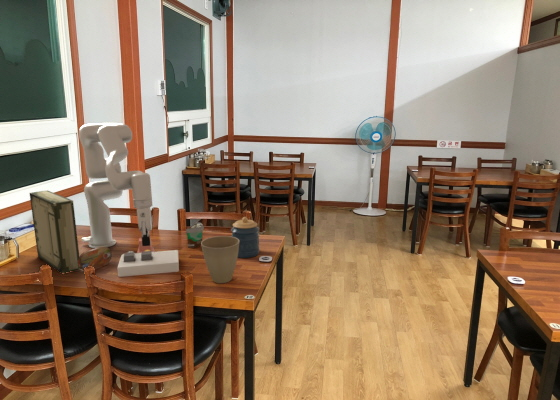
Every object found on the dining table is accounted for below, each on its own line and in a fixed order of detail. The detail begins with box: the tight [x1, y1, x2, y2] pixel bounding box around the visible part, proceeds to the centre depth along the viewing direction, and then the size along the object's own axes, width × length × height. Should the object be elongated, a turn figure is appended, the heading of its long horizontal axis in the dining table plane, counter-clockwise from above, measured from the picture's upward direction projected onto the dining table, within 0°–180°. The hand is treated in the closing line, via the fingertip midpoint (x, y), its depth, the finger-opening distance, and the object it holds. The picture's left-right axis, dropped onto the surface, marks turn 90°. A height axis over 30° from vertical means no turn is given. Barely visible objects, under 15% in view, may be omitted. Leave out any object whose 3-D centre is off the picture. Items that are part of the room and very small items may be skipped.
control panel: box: [29, 190, 82, 274], centre depth 190 cm, size 30×8×30 cm, turn 45°
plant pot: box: [200, 235, 239, 284], centre depth 173 cm, size 15×15×16 cm
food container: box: [185, 221, 205, 249], centre depth 216 cm, size 12×6×10 cm, turn 168°
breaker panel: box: [117, 249, 180, 278], centre depth 188 cm, size 24×16×6 cm, turn 103°
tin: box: [78, 247, 113, 271], centre depth 187 cm, size 15×3×8 cm, turn 148°
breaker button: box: [123, 251, 136, 262], centre depth 186 cm, size 4×4×4 cm
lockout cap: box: [136, 236, 155, 253], centre depth 201 cm, size 7×7×8 cm
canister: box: [230, 216, 261, 259], centre depth 202 cm, size 13×13×18 cm
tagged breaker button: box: [141, 251, 152, 261], centre depth 187 cm, size 4×4×4 cm
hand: (146, 245), depth 186 cm, fingers closed
